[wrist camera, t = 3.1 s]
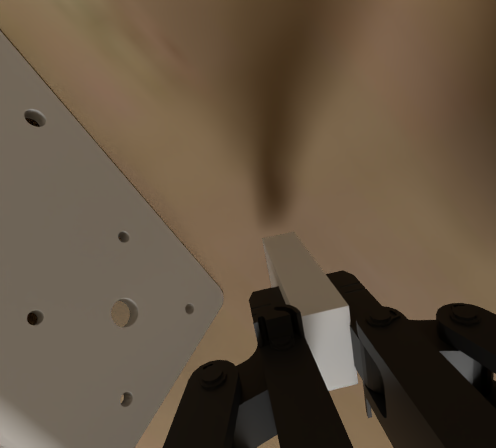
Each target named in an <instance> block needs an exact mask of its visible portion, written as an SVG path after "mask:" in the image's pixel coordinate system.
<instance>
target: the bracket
mask: <svg viewBox="0 0 496 448" xmlns="http://www.w3.org/2000/svg"><path fill="white" fill-rule="evenodd" d="M25 118H30V119H33V120H35V121H36V122H37V123H38V124H39V125H40V127H36V126H33V125H31V124H29V123H28V122H27V121H26V119H25ZM118 236H119V237H120V238H121V240H122V242H121V241H120V240H119V238H118ZM116 301H122V302H124V303H125V304H126V305H127V306H128V308H129V310H130V318H129V321H128V323H127V324H126V325H125V326H124V327H119V326H117V325H116V324H115V323H114V322H113V320H112V317H111V310H112V307H113V305H114V303H115V302H116ZM222 304H223V293H222V291H221V289H220V287H219V286H218V285H217V284H216V283H215V281H214V280H213V279H212V278H211V277H210V276H209V274H208V273H207V272H206V271H205V270H204V269H203V267H202V266H201V265H200V264H199V263H198V261H197V260H196V259H195V258H194V257H193V256H192V254H191V253H190V252H189V251H188V250H187V249H186V247H185V246H184V245H183V244H182V243H181V242H180V240H179V239H178V238H177V237H176V236H175V235H174V233H173V232H172V231H171V230H170V229H169V228H168V226H167V225H166V224H165V223H164V222H163V221H162V219H161V218H160V217H159V216H158V215H157V213H156V212H155V211H154V210H153V209H152V208H151V206H150V205H149V204H148V203H147V202H146V201H145V199H144V198H143V197H142V196H141V195H140V194H139V192H138V191H137V190H136V189H135V188H134V187H133V185H132V184H131V183H130V182H129V181H128V180H127V178H126V177H125V176H124V175H123V174H122V173H121V171H120V170H119V169H118V168H117V167H116V166H115V164H114V163H113V162H112V161H111V160H110V158H109V157H108V156H107V155H106V154H105V153H104V151H103V150H102V149H101V148H100V147H99V146H98V144H97V143H96V142H95V141H94V140H93V139H92V137H91V136H90V135H89V134H88V133H87V132H86V130H85V129H84V128H83V127H82V126H81V125H80V123H79V122H78V121H77V120H76V119H75V118H74V116H73V115H72V114H71V113H70V112H69V110H68V109H67V108H66V107H65V106H64V105H63V103H62V102H61V101H60V100H59V99H58V98H57V96H56V95H55V94H54V93H53V92H52V91H51V89H50V88H49V87H48V86H47V85H46V84H45V82H44V81H43V80H42V79H41V78H40V77H39V75H38V74H37V73H36V72H35V71H34V70H33V68H32V67H31V66H30V65H29V64H28V62H27V61H26V60H25V59H24V58H23V57H22V55H21V54H20V53H19V52H18V51H17V50H16V48H15V47H14V46H13V45H12V44H11V43H10V41H9V40H8V39H7V38H6V37H5V36H4V34H3V33H2V32H1V31H0V448H135V446H136V444H137V443H138V441H139V439H140V438H141V436H142V435H143V433H144V431H145V430H146V428H147V426H148V425H149V423H150V422H151V420H152V418H153V417H154V415H155V414H156V412H157V410H158V409H159V407H160V405H161V404H162V402H163V401H164V399H165V397H166V396H167V394H168V392H169V391H170V389H171V388H172V386H173V384H174V383H175V381H176V379H177V378H178V376H179V375H180V373H181V371H182V370H183V368H184V366H185V365H186V363H187V362H188V360H189V358H190V357H191V355H192V354H193V352H194V350H195V349H196V347H197V345H198V344H199V342H200V341H201V339H202V337H203V336H204V334H205V332H206V331H207V329H208V328H209V326H210V324H211V323H212V321H213V319H214V318H215V316H216V315H217V313H218V311H219V310H220V308H221V306H222ZM29 313H34V314H35V315H36V316H37V323H36V324H35V325H30V324H29V323H28V321H27V316H28V314H29ZM122 394H123V395H124V400H123V402H122V403H120V398H121V396H122Z"/></svg>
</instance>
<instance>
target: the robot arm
mask: <svg viewBox="0 0 496 448" xmlns="http://www.w3.org/2000/svg"><path fill="white" fill-rule="evenodd" d="M262 241H263V246H264V251H265V257H266V262H267V267H268V272H269V277H270V282H271V287H272V288H268V289H264V290H259V291H255V292H253V293H252V295H251V297H250V299H249V303H250V307H251V312H252V317H253V324H254V328H255V333H256V337H257V342H258V346H257V349H256V351H255V353H254V354H253V355H252V356H251V357H250V358H249V359H248V360H246V361H245V362H243V363H241V364H239V365H237V366H235V365H234V364H233V363H231V362H229V361H226V360H216V361H211V362H208V363H206V364H204V365H202V366H200V367H199V368H198V369H197V370H195V371H194V372H193V374H192V375H191V377H190V378H189V380H188V383H187V386H186V388H185V391H184V393H183V396H182V399H181V401H180V404H179V406H178V409H177V412H176V414H175V417H174V420H173V422H172V425H171V427H170V430H169V433H168V435H167V438H166V440H165V443H164V446H163V448H257V447H258V446H259V445H261V444H263V443H264V442H266V441H267V440H269V439H271V438H272V437H274V436H276V435H277V434H278V439H279V444H280V448H353V446H352V444H351V441H350V439H349V437H348V435H347V432H346V430H345V428H344V425H343V423H342V421H341V419H340V416H339V414H338V412H337V409H336V407H335V405H334V403H333V400H332V398H331V396H330V393H329V391H330V390H334V389H338V388H342V387H346V386H351V385H355V384H358V380H357V371H358V373H359V375H360V376H361V378H362V380H363V387H364V396H365V404H366V412H367V416H368V418H370V417H372V413H371V408H372V409H373V411H374V413H375V415H376V417H377V418H378V420H379V422H380V424H381V426H382V427H383V429H384V431H385V433H386V435H387V437H388V438H389V440H390V442H391V444H392V446H393V447H394V448H496V381H494V380H493V374H494V373H496V314H494V313H492V312H489V311H487V310H485V309H483V308H480V307H478V306H475V305H470V304H464V303H452V304H448V305H444V306H442V307H441V308H439V309H438V311H437V314H436V320H408V319H407V318H406V317H405V316H404V315H403V314H402V313H401V312H399V311H398V310H396V309H393V308H390V307H384V306H381V304H380V303H379V302H378V301H377V300H376V299H375V298H374V297H373V296H372V295H371V294H370V292H369V291H368V290H367V289H365V287H364V286H363V285H362V284H361V283H360V282H359V280H358V279H357V278H356V277H355V276H354V275H352V274H350V273H348V272H345V271H338V272H334V273H330V274H325V273H324V272H323V270H322V269H321V267H320V266H319V265H318V263H317V262H316V261H315V259H314V258H313V257H312V255H311V254H310V253H309V251H308V250H307V249H306V247H305V246H304V245H303V243H302V242H301V240H300V239H299V238H298V236H297V235H296V234H295V232H289V233H285V234H280V235H276V236H271V237H267V238H262ZM356 369H357V371H356Z"/></svg>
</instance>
